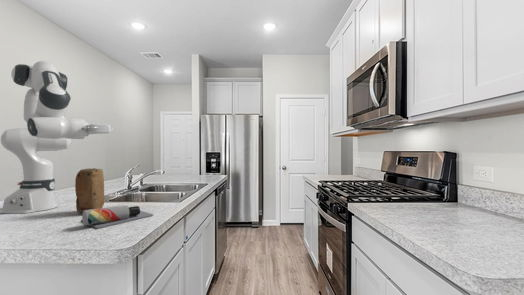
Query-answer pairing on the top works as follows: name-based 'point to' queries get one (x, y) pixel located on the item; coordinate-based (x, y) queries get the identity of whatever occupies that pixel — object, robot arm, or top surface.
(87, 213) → the lotion bottle
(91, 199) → the block
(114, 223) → the mat
